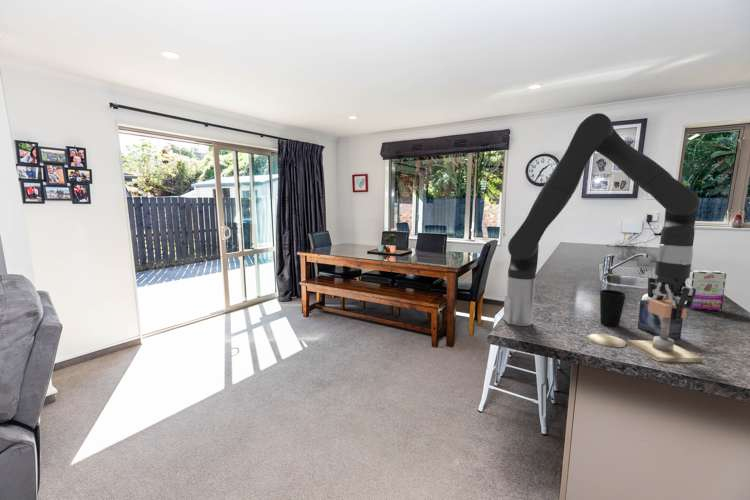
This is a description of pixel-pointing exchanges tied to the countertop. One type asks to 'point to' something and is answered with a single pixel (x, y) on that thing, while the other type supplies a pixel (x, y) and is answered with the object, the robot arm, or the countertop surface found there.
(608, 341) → the coaster
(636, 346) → the peg stand
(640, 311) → the small box
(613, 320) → the cup
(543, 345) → the countertop surface
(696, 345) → the countertop surface
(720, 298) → the candy bar box
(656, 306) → the c link
